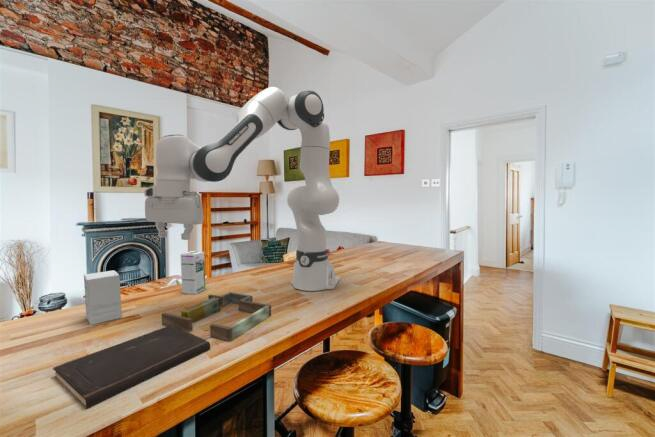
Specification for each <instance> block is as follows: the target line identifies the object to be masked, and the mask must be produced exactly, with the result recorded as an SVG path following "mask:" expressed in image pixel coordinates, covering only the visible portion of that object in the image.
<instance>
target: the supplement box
mask: <svg viewBox="0 0 655 437" xmlns="http://www.w3.org/2000/svg"><path fill="white" fill-rule="evenodd" d="M120 277H121V276H120V274H119V273H118V272H117V271H116V270H107V271H100V272H92V273H86V274H83V284H84V297H85V298H84V299H85V300H84V301H85V318H86V319H87V322H88V323H90V324H89V326H93V325H96V324H99V323H100V324H101V323H106V322H108V321H113V320H117V319H121V318H123V317H122V316H123V315H122V296H121V278H120Z"/></svg>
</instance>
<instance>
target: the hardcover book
mask: <svg viewBox="0 0 655 437" xmlns="http://www.w3.org/2000/svg"><path fill="white" fill-rule="evenodd" d="M209 350H211V344H210V341H209V340H207V339H204V338H201V337H200V336H197V335H195V334H193V333H190V332H189V331H185V330H181V329H179V328H177V327H175V326H172V325H170V326H165V327H162V328H160V329H157V330H154V331H151V332H148V333H146V334H143V335H140V336H136V337H134V338H132V339H128V340H126V341H124V342H123V341H122V342H121V343H118V344H115V345H112V346H108V347H107V348H104V349H100V350H98V351H96V352H93V353H90V354H87V355H84V356H82V357H77V358H76V359H74V360H70V361H68V362H64V363H62V364H59V365H57V366H54V367H52V369H53V371H54V374H55V378H57V379H58V380H59V381H60V382H61V383H62V384H63V385H64V386H65V387H66V388H67V389H68V390H69V391H70V392H71V393H72V394H73V395H74V396H75V397H76V398H77V399H78V401H79V400H80V402H81V403H82V404H83V405H84V406H85V409H90V408H92V407H93V406H96V405H97V404H100V403H102V402H104V401H107V400H109V399H110V398H112V397H115V396H117V395H119V394H121V393H123V392H125V391H127V390H129V389H131V388H133V387H135V386H137V385H139V384H142V383H143V382H146V381H148V380H150V379H152V378H154V377H156V376H158V375H159V374H163V373H164V372H167V371H168V370H170V369H173V368H175V367H177V366H180V364H183V363H185V362H187V361H189V360H191V359H193V358H195V357H197V356H199V355H201V354H204V353H206V352H208V351H209Z"/></svg>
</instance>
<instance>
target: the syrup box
mask: <svg viewBox="0 0 655 437" xmlns="http://www.w3.org/2000/svg"><path fill="white" fill-rule="evenodd" d="M205 268H206V267H205V251H203V250H191V251H188V252H184V253H181V254H180V276H181V292H182V294H189V295H197V294H199V293H201V292H202V291H205V290H206V271H205V270H206V269H205Z"/></svg>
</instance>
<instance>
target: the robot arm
mask: <svg viewBox="0 0 655 437" xmlns="http://www.w3.org/2000/svg"><path fill="white" fill-rule="evenodd" d="M322 100H323V99H322V98H321V96H320V95H319V94H318V93H317V92H316V91H314V90H304V91H301V92H298V93H296V94H294V95H293V96H290V97H288V96H286V94H285V93H284V91H283V90H281V88H279V87H276V86H269V87H266V88H265V89H263V90H261V91H259V92H258V93H256V94H254V96H253V97H252V98H250V99H249V100H248V101H247V102H245V104H244V105H243V106H242V107H241V108H240V110H239V111H238V113H237V114H236V125H235V126H234V127H233V128H232V129H231V130H230V131H229V132H227V133H226V134H225V136H223V138H221V139H220V140H219V141H217V142H214V143H210V144H207V145H204V146H200V145H198V144H196V143H195V142H194V141H193V140H191V139H189V138H188V137H187V135H183V134H169V135H164V136H162V137H160V138H159V139H158V141H157V144H156V149H155V150H156V151H155V166H156V170H157V174H156V178H155V184H154V185H153V184H152V186H150V187H148V188H146V189H144V192H143V193H144V197H145V200H144V216H145V217H144V218H145V219H146V221H147V222H151V223H152V222H153V223H154V224H155V227H156V230H157V231H158V237H159V238H167V237H168V231H166V228H165V225H166V223H167V224H178V225H183V229H184V230H183V232H182V233H181V234H180V236H181V240H183V241H189V240H190V239H191V233H192V230H193V228H194V225H195V226H196V225H201V224H202V223H203V222H204V220H205V219H204V209H203V208H204V207H203V203H202V198H201V195H200V194H199V193H198V192H197V191H191V180H196V181H199V182H204V183H206V182H213V183H216V182H217V183H218V182H220V181H223V180H225V179H227V177H228V176H230V173H231V171H232V169H233V167H234V164H235V162H236V160H237V158H238V157H239V155H240V154H241V153H242V152H243V151H244V150H246V148H247V147H248V146H249V145H250V144H252V142H253V141H254V140H256V139H259V138H260V137H261V136H263V135H266V133H267V132H269V131H270V130H271V129H272V128H273V127H274V126H275V125H276V124H278V126H280V127H281V128H282V129H285V130H286V131H295V130H298V129H299V132H300V134H301V135H300V136H301V146H300V154H299V155H300V156H299V170H300V171H301V173H302V174H303V176H304V180H305V181H304V182H305V185H302V186H301V185H300V186H298V187H295V188H293V189H292V190H290V191H289V193H288V194H287V199H286V202H287V205H288V207H289V208H290V210H291V211H292V214H293V218H294V221H295V226H296V233H297V234H296V237H297V238H296V239H297V240H296V241H297V242H296V243H297V244H296V245H297V249H296V251H295V252H296V253H295V257H296V259H295V260H296V261H295V262H294V263H293V269H292V270H293V271H292V279H291V280H289V283H290V285H292V286H293V288H294V289H297V290H301V291H308V292H309V291H310V292H313V291H314V292H315V291H323V290H334V289H335V288H336V286H337V284H338V283H339V281H341V280H340V278H341V277H340V276H338V275H335V266H334V265H333V264H332V262H331V261H330V260H329V255H330V250H331V249H329V248H327V232H326V231H327V230H326V228H325V227H324V225H323V224H322V221H321V220H320V216H324V215H329V214H333V213H334V212H335V211H336V210H337V209H338V207H339V205H340V196H339V193H338V192H337V190H336V189H335V188H334V186H333V183H332V182H331V176H330V150H331V135H330V128H329V125H328V124H327V122H326V121H324V119H325V111H324V109H325V108H324V103H323V101H322Z"/></svg>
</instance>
